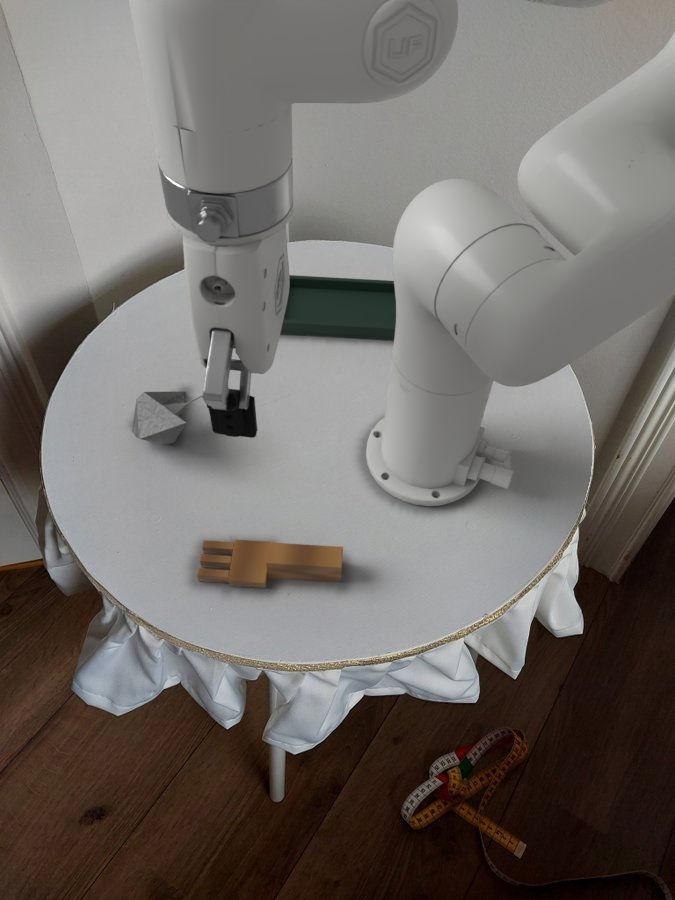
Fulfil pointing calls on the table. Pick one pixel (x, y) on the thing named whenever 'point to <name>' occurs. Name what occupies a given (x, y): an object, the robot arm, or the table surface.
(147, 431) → the grey angular piece
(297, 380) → the table surface
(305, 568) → the fork
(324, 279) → the tray
